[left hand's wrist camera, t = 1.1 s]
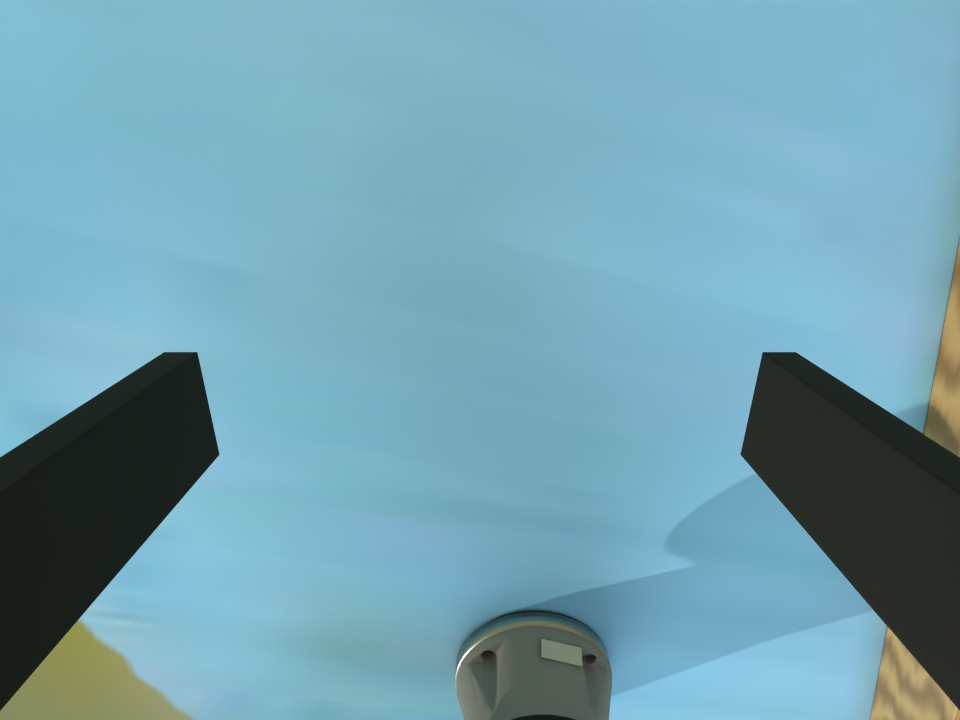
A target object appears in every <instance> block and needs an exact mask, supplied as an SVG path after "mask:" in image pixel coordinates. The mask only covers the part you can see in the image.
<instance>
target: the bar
mask: <svg viewBox="0 0 960 720" xmlns="http://www.w3.org/2000/svg"><path fill="white" fill-rule="evenodd" d="M924 435H925V436H927V437H928V438H930V439H932V440H933V441H935V442H936V443H938V444H939V445H941V446H943V447H944V448H946V449H947V450H949V451H950V452H952V453H953V454H955V455H957V456H958V457H960V242H959V247H958V253H957V258H956V263H955V269H954V274H953V279H952V285H951V290H950V296H949V301H948V306H947V312H946V317H945V322H944V328H943V333H942V338H941V344H940V349H939V354H938V360H937V365H936V370H935V376H934V381H933V387H932V392H931V397H930V403H929V408H928V413H927V419H926V424H925V429H924ZM870 720H960V710H959V709H958V708H957V707H956V706H955V705H954V703H953V702H952V701H951V700H950V699H949V698H948V696H947V695H946V694H945V693H944V692H943V691H942V689H941V688H940V687H939V686H938V685H937V683H936V682H935V681H934V680H933V679H932V678H931V676H930V675H929V674H928V673H927V672H926V671H925V669H924V668H923V667H922V666H921V665H920V664H919V662H918V661H917V660H916V659H915V658H914V657H913V655H912V654H911V653H910V652H909V651H908V650H907V648H906V647H905V646H904V645H903V644H902V643H901V641H900V640H899V639H898V638H897V637H896V636H895V634H894V633H893V632H892V631H891V630H890V629H889V627H887V633H886V638H885V643H884V649H883V654H882V660H881V665H880V670H879V676H878V681H877V686H876V692H875V697H874V702H873V708H872V713H871V718H870Z"/></svg>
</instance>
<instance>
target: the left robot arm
mask: <svg viewBox="0 0 960 720" xmlns="http://www.w3.org/2000/svg"><path fill="white" fill-rule="evenodd" d="M218 456H219V451H218V446H217V441H216V437H215V432H214V428H213V423H212V418H211V414H210V409H209V404H208V400H207V395H206V391H205V386H204V381H203V377H202V372H201V367H200V363H199V358H198V354H197V352H164V353H162V354H161V355H159V356H158V357H156V358H155V359H153V360H152V361H150V362H148V363H147V364H145V365H144V366H142V367H141V368H139V369H138V370H136V371H134V372H133V373H131V374H130V375H128V376H127V377H125V378H124V379H122V380H120V381H119V382H117V383H116V384H114V385H113V386H111V387H109V388H108V389H106V390H105V391H103V392H102V393H100V394H99V395H97V396H95V397H94V398H92V399H91V400H89V401H88V402H86V403H85V404H83V405H81V406H80V407H78V408H77V409H75V410H74V411H72V412H70V413H69V414H67V415H66V416H64V417H63V418H61V419H60V420H58V421H56V422H55V423H53V424H52V425H50V426H49V427H47V428H46V429H44V430H42V431H41V432H39V433H38V434H36V435H35V436H33V437H32V438H30V439H28V440H27V441H25V442H24V443H22V444H21V445H19V446H17V447H16V448H14V449H13V450H11V451H10V452H8V453H7V454H5V455H3V456H2V457H0V710H1V709H2V708H3V707H4V706H5V705H6V703H7V702H8V701H9V700H10V699H11V697H12V696H13V695H14V694H15V693H16V692H17V691H18V689H19V688H20V687H21V686H22V685H23V683H24V682H25V681H26V680H27V679H28V678H29V676H30V675H31V674H32V673H33V672H34V671H35V669H36V668H37V667H38V666H39V665H40V664H41V662H42V661H43V660H44V659H45V658H46V657H47V655H48V654H49V653H50V652H51V651H52V650H53V648H54V647H55V646H56V645H57V644H58V643H59V641H60V640H61V639H62V638H63V637H64V635H65V634H66V633H67V632H68V631H69V630H70V629H71V627H72V626H73V625H74V624H75V623H76V622H77V620H78V619H79V618H80V617H81V616H82V615H83V613H84V612H85V611H86V610H87V609H88V608H89V606H90V605H91V604H92V603H93V602H94V601H95V599H96V598H97V597H98V596H99V595H100V593H101V592H102V591H103V590H104V589H105V588H106V586H107V585H108V584H109V583H110V582H111V581H112V579H113V578H114V577H115V576H116V575H117V574H118V572H119V571H120V570H121V569H122V568H123V567H124V565H125V564H126V563H127V562H128V561H129V560H130V558H131V557H132V556H133V555H134V554H135V553H136V551H137V550H138V549H139V548H140V547H141V546H142V544H143V543H144V542H145V541H146V540H147V539H148V537H149V536H150V535H151V534H152V533H153V532H154V530H155V529H156V528H157V527H158V526H159V525H160V523H161V522H162V521H163V520H164V519H165V518H166V516H167V515H168V514H169V513H170V512H171V511H172V509H173V508H174V507H175V506H176V505H177V503H178V502H179V501H180V500H181V499H182V498H183V496H184V495H185V494H186V493H187V492H188V491H189V489H190V488H191V487H192V486H193V485H194V484H195V482H196V481H197V480H198V479H199V478H200V477H201V475H202V474H203V473H204V472H205V471H206V470H207V468H208V467H209V466H210V465H211V464H212V463H213V461H214V460H215V459H216V458H217V457H218ZM741 456H742V457H743V458H744V459H745V460H746V461H747V463H748V464H749V465H750V466H751V467H752V468H753V470H754V471H755V472H756V473H757V474H758V475H759V477H760V478H761V479H762V480H763V481H764V482H765V484H766V485H767V486H768V487H769V488H770V489H771V491H772V492H773V493H774V494H775V495H776V496H777V498H778V499H779V500H780V501H781V502H782V503H783V505H784V506H785V507H786V508H787V509H788V511H789V512H790V513H791V514H792V515H793V516H794V518H795V519H796V520H797V521H798V522H799V523H800V525H801V526H802V527H803V528H804V529H805V530H806V532H807V533H808V534H809V535H810V536H811V537H812V539H813V540H814V541H815V542H816V543H817V544H818V546H819V547H820V548H821V549H822V550H823V551H824V553H825V554H826V555H827V556H828V557H829V558H830V560H831V561H832V562H833V563H834V564H835V565H836V567H837V568H838V569H839V570H840V571H841V572H842V574H843V575H844V576H845V577H846V578H847V579H848V581H849V582H850V583H851V584H852V585H853V586H854V588H855V589H856V590H857V591H858V592H859V593H860V595H861V596H862V597H863V598H864V599H865V601H866V602H867V603H868V604H869V605H870V606H871V608H872V609H873V610H874V611H875V612H876V613H877V615H878V616H879V617H880V618H881V619H882V620H883V622H884V623H885V624H886V625H887V626H888V627H889V629H890V630H891V631H892V632H893V633H894V634H895V636H896V637H897V638H898V639H899V640H900V641H901V643H902V644H903V645H904V646H905V647H906V648H907V650H908V651H909V652H910V653H911V654H912V655H913V657H914V658H915V659H916V660H917V661H918V662H919V664H920V665H921V666H922V667H923V668H924V669H925V671H926V672H927V673H928V674H929V675H930V676H931V678H932V679H933V680H934V681H935V682H936V683H937V685H938V686H939V687H940V688H941V689H942V691H943V692H944V693H945V694H946V695H947V696H948V698H949V699H950V700H951V701H952V702H953V703H954V705H955V706H956V707H957V708H958V709H959V710H960V457H958V456H957V455H955V454H953V453H952V452H950V451H949V450H947V449H946V448H944V447H943V446H941V445H939V444H938V443H936V442H935V441H933V440H932V439H930V438H928V437H927V436H925V435H924V434H922V433H921V432H919V431H918V430H916V429H914V428H913V427H911V426H910V425H908V424H907V423H905V422H904V421H902V420H900V419H899V418H897V417H896V416H894V415H893V414H891V413H890V412H888V411H886V410H885V409H883V408H882V407H880V406H879V405H877V404H875V403H874V402H872V401H871V400H869V399H868V398H866V397H865V396H863V395H861V394H860V393H858V392H857V391H855V390H854V389H852V388H851V387H849V386H847V385H846V384H844V383H843V382H841V381H840V380H838V379H836V378H835V377H833V376H832V375H830V374H829V373H827V372H826V371H824V370H822V369H821V368H819V367H818V366H816V365H815V364H813V363H812V362H810V361H808V360H807V359H805V358H804V357H802V356H801V355H799V354H798V353H796V352H763V354H762V358H761V363H760V367H759V372H758V377H757V381H756V386H755V391H754V395H753V400H752V404H751V409H750V414H749V418H748V423H747V428H746V432H745V437H744V441H743V446H742V451H741ZM455 682H456V690H457V695H458V699H459V703H460V706H461V710H462V713H463V717H464V720H609V710H610V699H611V688H612V674H611V668H610V664H609V660H608V656H607V652H606V649H605V647H604V645H603V643H602V642H601V640H600V639H599V638H598V636H597V635H596V634H595V633H594V632H593V631H592V630H590V629H589V628H588V627H586V626H585V625H583V624H582V623H580V622H578V621H576V620H574V619H571V618H569V617H566V616H562V615H558V614H554V613H547V612H523V613H516V614H511V615H507V616H504V617H500V618H498V619H495V620H493V621H491V622H489V623H487V624H485V625H483V626H482V627H480V628H479V629H477V630H476V631H475V632H474V633H473V634H471V635H470V636H469V638H468V639H467V640H466V641H465V642H464V644H463V645H462V647H461V649H460V651H459V654H458V657H457V662H456V678H455Z"/></svg>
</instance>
